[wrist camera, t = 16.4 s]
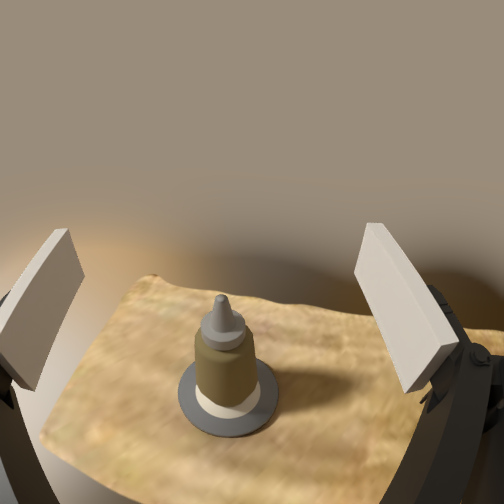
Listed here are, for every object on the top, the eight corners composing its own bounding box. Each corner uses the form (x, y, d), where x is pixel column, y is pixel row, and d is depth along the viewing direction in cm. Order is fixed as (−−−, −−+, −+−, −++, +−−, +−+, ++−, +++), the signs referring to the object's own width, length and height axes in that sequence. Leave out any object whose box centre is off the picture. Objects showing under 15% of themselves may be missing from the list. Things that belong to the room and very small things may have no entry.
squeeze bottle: (187, 384, 39) (163, 292, 28) (233, 357, 43) (230, 261, 33) (221, 425, 34) (209, 347, 23) (269, 393, 38) (282, 303, 28)
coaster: (292, 421, 35) (293, 418, 35) (190, 447, 32) (189, 444, 31) (259, 345, 46) (259, 341, 46) (172, 364, 42) (170, 360, 42)
